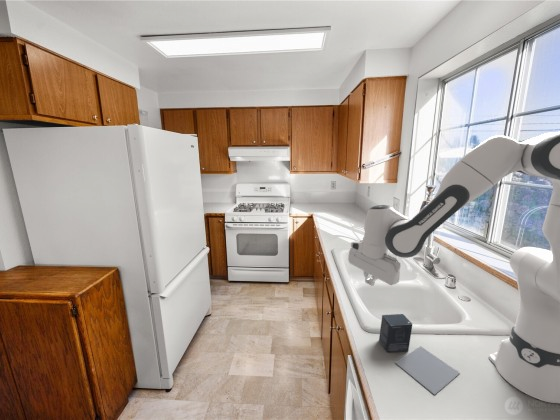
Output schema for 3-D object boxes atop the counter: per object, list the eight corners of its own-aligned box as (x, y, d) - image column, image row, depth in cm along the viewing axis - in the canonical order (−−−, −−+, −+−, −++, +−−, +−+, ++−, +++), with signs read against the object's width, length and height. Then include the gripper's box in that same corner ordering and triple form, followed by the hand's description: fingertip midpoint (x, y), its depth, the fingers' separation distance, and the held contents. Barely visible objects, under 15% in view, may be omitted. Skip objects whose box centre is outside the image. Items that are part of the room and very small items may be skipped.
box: (399, 339, 87) (403, 313, 85) (408, 351, 82) (413, 324, 79) (378, 340, 86) (381, 314, 84) (386, 352, 81) (390, 325, 78)
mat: (420, 346, 84) (420, 346, 84) (459, 373, 74) (459, 372, 74) (395, 363, 77) (395, 362, 77) (434, 395, 67) (434, 394, 67)
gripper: (406, 258, 80) (400, 296, 83) (359, 239, 97) (354, 270, 100) (395, 262, 77) (388, 301, 80) (347, 241, 94) (343, 273, 97)
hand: (369, 283), depth 90 cm, fingers closed
